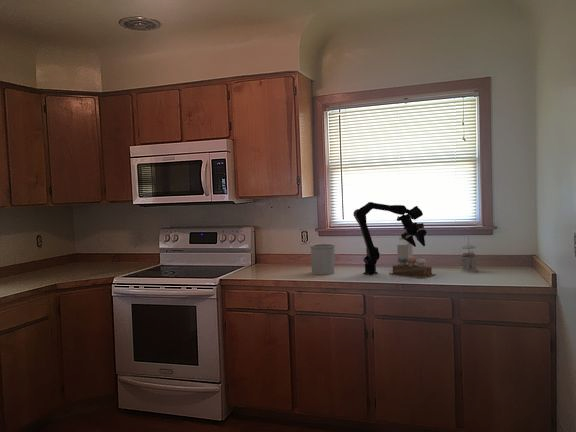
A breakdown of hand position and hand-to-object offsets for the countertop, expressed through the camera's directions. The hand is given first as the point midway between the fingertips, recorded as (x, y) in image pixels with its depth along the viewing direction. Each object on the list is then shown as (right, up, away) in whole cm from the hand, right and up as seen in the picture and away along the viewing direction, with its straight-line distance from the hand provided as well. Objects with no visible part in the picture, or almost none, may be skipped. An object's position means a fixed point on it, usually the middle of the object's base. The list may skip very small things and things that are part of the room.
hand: (419, 246), depth 291 cm
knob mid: (-8, -12, -12) cm, 19 cm away
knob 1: (-12, -12, -8) cm, 19 cm away
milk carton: (-6, -14, +12) cm, 19 cm away
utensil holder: (-58, -17, +6) cm, 60 cm away
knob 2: (-4, -12, -17) cm, 21 cm away
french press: (+28, -14, -6) cm, 32 cm away
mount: (-8, -16, -12) cm, 21 cm away
